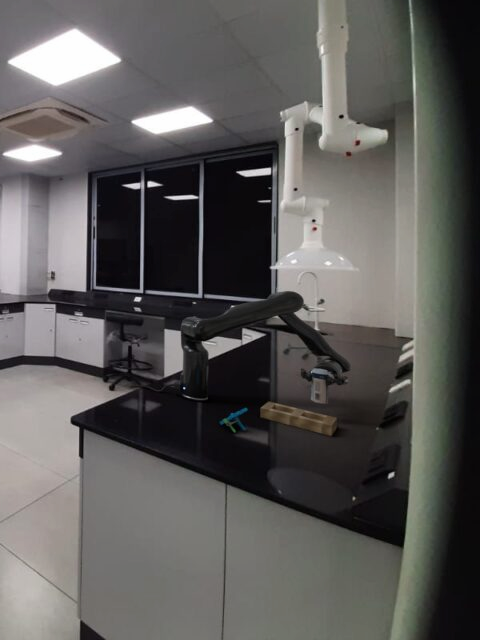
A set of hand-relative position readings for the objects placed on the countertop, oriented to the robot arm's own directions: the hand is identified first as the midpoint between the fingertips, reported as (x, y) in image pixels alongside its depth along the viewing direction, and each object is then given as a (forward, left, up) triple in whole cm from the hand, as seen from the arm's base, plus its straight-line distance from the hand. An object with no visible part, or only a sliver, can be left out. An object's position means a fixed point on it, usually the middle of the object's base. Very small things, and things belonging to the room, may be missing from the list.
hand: (318, 380), depth 145 cm
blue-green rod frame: (-17, -33, -15) cm, 40 cm away
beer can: (0, +3, -9) cm, 9 cm away
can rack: (-4, -8, -14) cm, 17 cm away
